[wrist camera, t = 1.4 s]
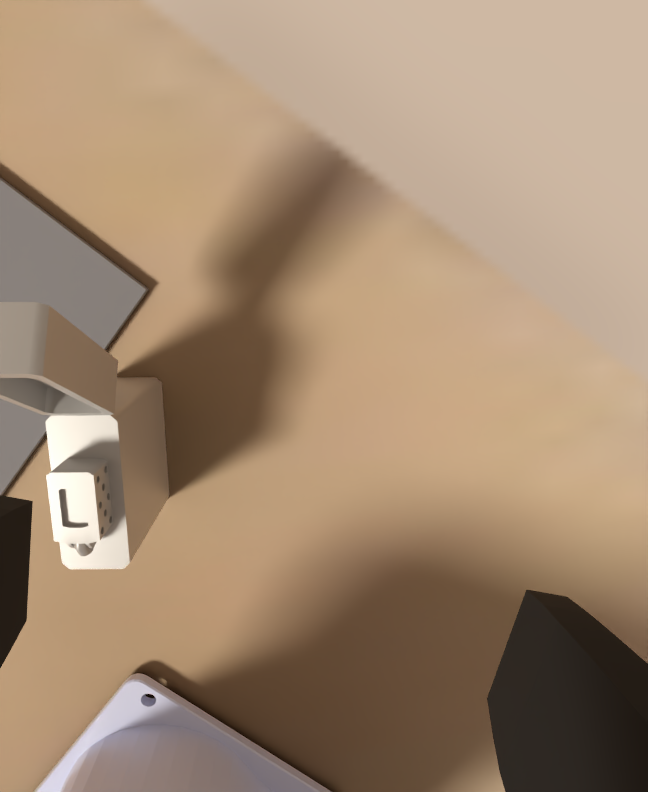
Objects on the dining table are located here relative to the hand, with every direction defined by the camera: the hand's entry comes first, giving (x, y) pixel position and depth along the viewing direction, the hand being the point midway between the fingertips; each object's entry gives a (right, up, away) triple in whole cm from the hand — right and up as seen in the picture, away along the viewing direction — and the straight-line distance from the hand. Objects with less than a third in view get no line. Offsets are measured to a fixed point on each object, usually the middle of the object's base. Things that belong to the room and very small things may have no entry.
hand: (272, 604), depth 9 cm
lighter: (-5, +3, +10) cm, 12 cm away
